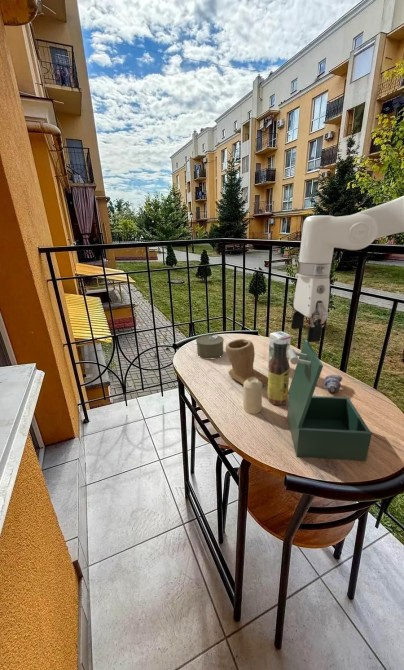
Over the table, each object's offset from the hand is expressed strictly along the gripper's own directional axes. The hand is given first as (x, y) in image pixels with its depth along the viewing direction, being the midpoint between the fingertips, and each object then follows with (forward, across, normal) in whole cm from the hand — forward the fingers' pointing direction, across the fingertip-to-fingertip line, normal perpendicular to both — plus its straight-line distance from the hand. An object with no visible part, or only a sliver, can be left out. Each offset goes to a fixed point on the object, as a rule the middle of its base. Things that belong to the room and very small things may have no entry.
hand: (304, 334), depth 75 cm
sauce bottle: (+25, +6, +3) cm, 26 cm away
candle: (+25, +3, +12) cm, 28 cm away
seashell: (+24, +9, -17) cm, 31 cm away
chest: (+24, -12, -2) cm, 27 cm away
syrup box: (+25, +27, -5) cm, 37 cm away
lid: (+8, -11, +4) cm, 14 cm away
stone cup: (+25, +20, +10) cm, 34 cm away
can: (+26, +46, +19) cm, 56 cm away
